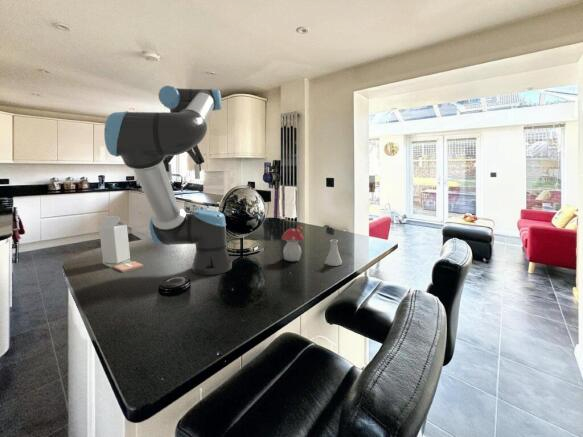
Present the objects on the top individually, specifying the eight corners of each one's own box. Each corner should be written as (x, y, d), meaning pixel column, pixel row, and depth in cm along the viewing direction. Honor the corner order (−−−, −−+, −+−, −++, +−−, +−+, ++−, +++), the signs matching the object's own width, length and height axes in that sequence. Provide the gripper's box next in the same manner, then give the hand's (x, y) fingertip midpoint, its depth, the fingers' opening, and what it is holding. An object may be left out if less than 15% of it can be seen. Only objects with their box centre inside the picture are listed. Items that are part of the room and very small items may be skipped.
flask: (345, 262, 125) (345, 239, 123) (337, 267, 119) (338, 243, 117) (329, 259, 129) (330, 237, 127) (321, 264, 123) (322, 241, 122)
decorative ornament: (305, 258, 131) (305, 225, 128) (299, 263, 125) (299, 228, 122) (285, 256, 134) (285, 223, 132) (279, 260, 128) (279, 226, 126)
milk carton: (117, 264, 121) (112, 218, 118) (102, 262, 123) (97, 217, 119) (130, 258, 128) (126, 215, 125) (116, 257, 129) (111, 214, 126)
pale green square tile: (131, 262, 126) (131, 260, 126) (110, 267, 120) (110, 265, 120) (122, 259, 131) (122, 256, 131) (102, 263, 125) (102, 261, 125)
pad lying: (143, 266, 121) (143, 264, 121) (122, 272, 115) (122, 269, 114) (134, 262, 126) (134, 260, 125) (113, 267, 119) (113, 265, 119)
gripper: (200, 131, 137) (203, 178, 140) (147, 126, 117) (151, 180, 121) (210, 130, 132) (213, 178, 136) (156, 124, 113) (161, 180, 116)
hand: (184, 179), depth 128 cm, fingers open, 13 cm apart
